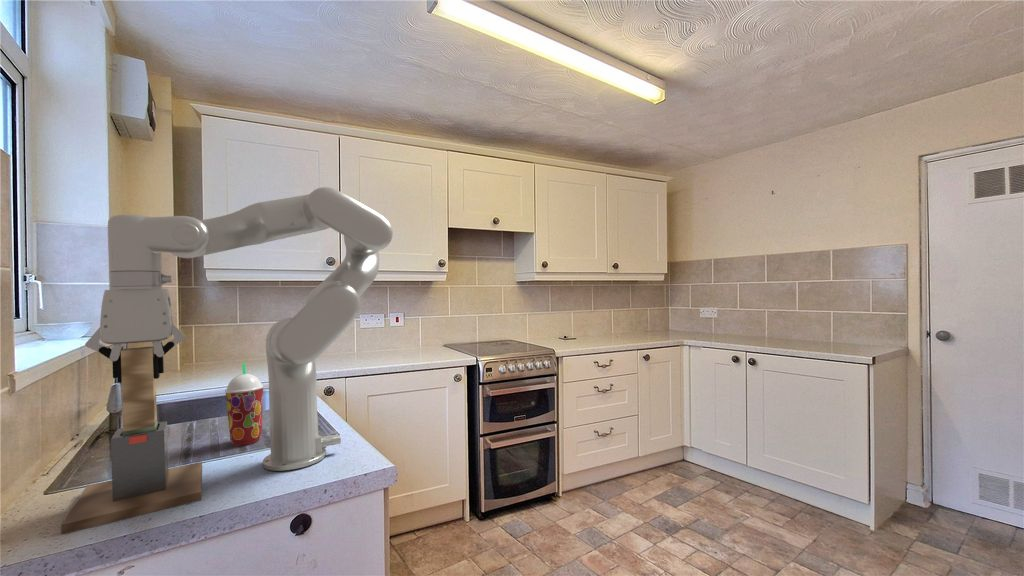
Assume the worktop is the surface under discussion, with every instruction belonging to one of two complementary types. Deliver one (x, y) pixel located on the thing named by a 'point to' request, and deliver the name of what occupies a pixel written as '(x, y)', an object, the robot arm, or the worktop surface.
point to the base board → (133, 500)
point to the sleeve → (139, 462)
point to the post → (138, 390)
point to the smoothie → (244, 408)
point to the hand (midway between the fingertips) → (139, 378)
